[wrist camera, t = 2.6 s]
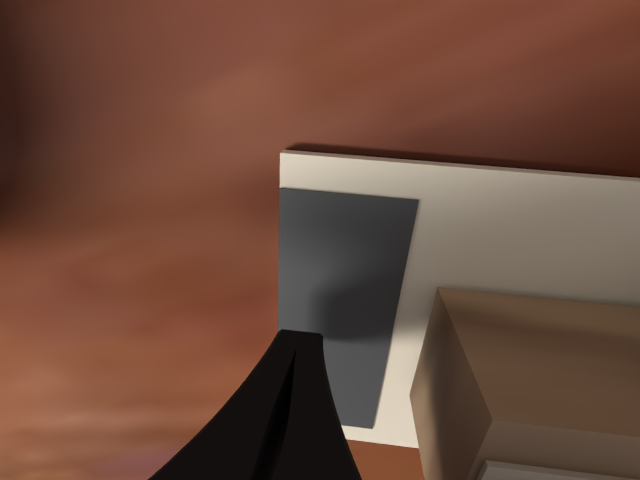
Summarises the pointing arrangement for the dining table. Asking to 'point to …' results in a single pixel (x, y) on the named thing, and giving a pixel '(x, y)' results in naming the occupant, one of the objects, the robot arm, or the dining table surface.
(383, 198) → the tunnel
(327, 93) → the dining table surface
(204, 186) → the dining table surface
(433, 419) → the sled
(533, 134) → the dining table surface
